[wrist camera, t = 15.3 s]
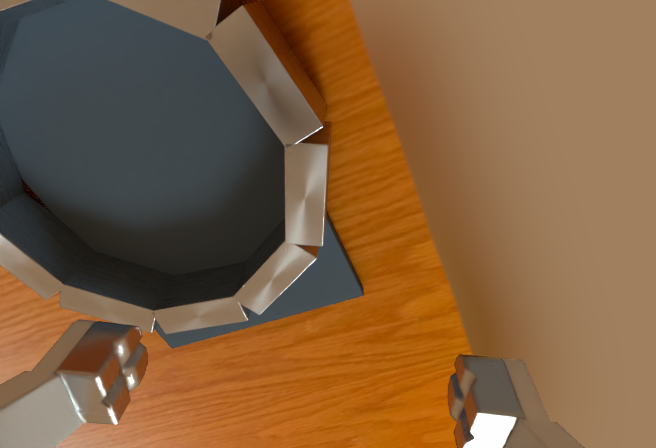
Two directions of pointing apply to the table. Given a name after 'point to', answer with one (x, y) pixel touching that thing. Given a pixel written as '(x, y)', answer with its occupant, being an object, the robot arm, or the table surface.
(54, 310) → the table surface
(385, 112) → the table surface
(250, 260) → the ring
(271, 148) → the mat
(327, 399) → the table surface
